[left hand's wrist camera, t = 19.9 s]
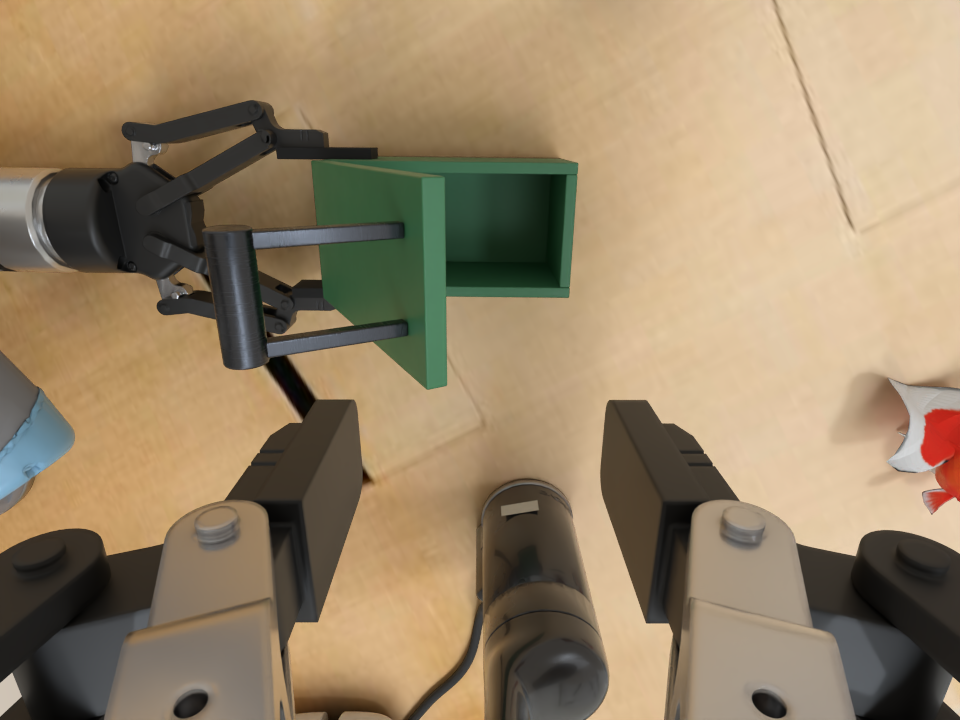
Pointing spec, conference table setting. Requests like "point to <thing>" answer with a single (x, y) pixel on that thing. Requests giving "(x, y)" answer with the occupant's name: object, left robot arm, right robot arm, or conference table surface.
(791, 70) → the conference table surface
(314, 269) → the conference table surface
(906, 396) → the fish
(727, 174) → the conference table surface
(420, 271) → the lid
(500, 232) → the chest
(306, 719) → the white rounded housing
